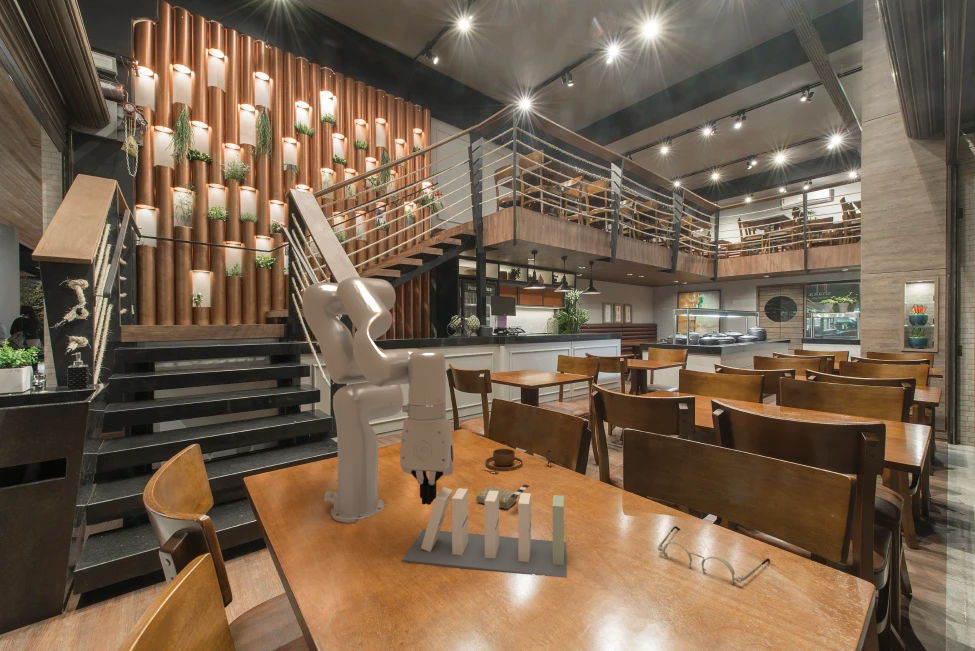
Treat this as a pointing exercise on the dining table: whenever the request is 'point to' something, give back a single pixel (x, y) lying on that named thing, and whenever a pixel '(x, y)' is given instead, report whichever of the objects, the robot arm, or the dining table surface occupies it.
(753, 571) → the eyeglasses
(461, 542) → the domino
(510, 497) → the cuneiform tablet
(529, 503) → the domino
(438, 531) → the domino
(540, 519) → the dining table surface
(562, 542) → the end domino
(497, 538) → the domino
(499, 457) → the place setting
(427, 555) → the mat
